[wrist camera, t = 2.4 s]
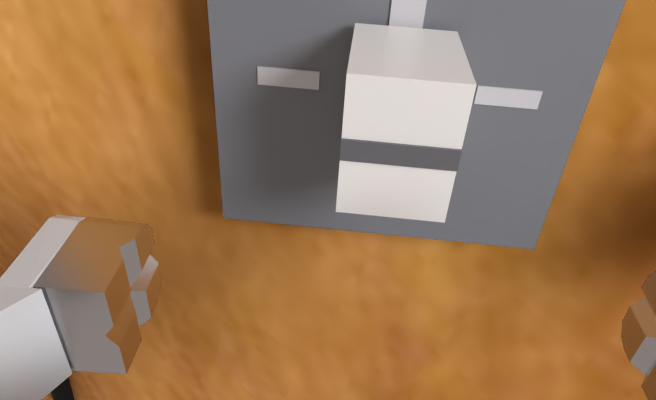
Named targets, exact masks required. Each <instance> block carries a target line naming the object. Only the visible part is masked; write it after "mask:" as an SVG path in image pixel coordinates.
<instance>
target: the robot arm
mask: <svg viewBox="0 0 656 400" xmlns="http://www.w3.org/2000/svg"><path fill="white" fill-rule="evenodd" d="M154 245H155V240H154V235H153V230H152V227H150V226H149V225H148V224H143V223H134V222H125V221H116V220H108V219H99V218H90V217H87V218H84V217H76V216H67V215H58V214H57V215H55V216H53V217H50V218H49V219H48V220H47V221H46V222H45V223H44V224H43V226H42V227H41V228H40V229H39V231H38V232H37V233H36V234H35V235H34V237H33V238H32V239H31V240H30V242H29V243H28V244H27V245H26V247H25V248H24V249H23V250H22V252H21V253H20V254H19V255H18V256H17V258H16V259H15V260H14V261H13V263H12V264H11V265H10V266H9V268H8V269H7V270H6V271H5V273H4V274H3V275H2V276H1V277H0V400H42V399H43V398H44V397H45V396H47V395H48V394H49V393H50V392H51V391H52V390H54V389H55V388H56V387H57V386H58V385H60V384H61V383H62V382H63V381H64V380H66V379H67V378H68V377H69V376H70V375H72V371H85V372H100V373H115V374H127V372H128V370H129V367H130V365H131V363H132V361H133V358H134V356H135V354H136V352H137V349H138V347H139V345H140V343H141V340H142V339H141V334H140V330H139V326H141V325H142V324H143V323H145V322H146V321H148V320H149V319H151V317H152V315H153V312H154V310H155V308H156V305H157V301H158V296H159V292H160V268H159V263H158V262H157V261H156V260H155V259H154V258H153V257H152V256H151V255H150V253H151V251H152V249H153V247H154ZM641 288H642V291H643V293H644V296H645V298H643V299H641V300H639V301H638V302H636V303H634V304H632V305H631V306H630V307H629V309H628V311H627V313H626V314H625V316H624V318H623V320H622V332H621V338H622V343H623V348H624V351H625V353H626V355H627V357H628V359H629V362H630V363H631V364H633V365H634V366H635V367H636V368H637V369H639V370H640V371H641V372H642V373H643V374H645V377H644V380H643V383H642V386H641V387H642V389H643V391H644V393H645V395H646V397H647V399H648V400H656V271H654V272H653V273H651V274H650V275H648V277H647V278H646V280H645V281H644V283H643V285H642V286H641Z"/></svg>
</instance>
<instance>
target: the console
mask: <svg viewBox="0 0 656 400" xmlns="http://www.w3.org/2000/svg"><path fill="white" fill-rule="evenodd" d="M625 2H626V0H207V6H208V19H209V32H210V46H211V59H212V73H213V86H214V100H215V113H216V126H217V140H218V153H219V167H220V180H221V194H222V207H223V218H228V219H238V220H248V221H258V222H268V223H277V224H287V225H297V226H307V227H317V228H327V229H337V230H347V231H356V232H366V233H376V234H386V235H396V236H406V237H416V238H426V239H436V240H445V241H455V242H465V243H475V244H485V245H495V246H505V247H515V248H524V249H534V248H535V246H536V243H537V240H538V237H539V235H540V232H541V229H542V227H543V224H544V221H545V218H546V216H547V213H548V210H549V208H550V205H551V202H552V199H553V197H554V194H555V191H556V189H557V186H558V183H559V180H560V178H561V175H562V172H563V170H564V167H565V164H566V162H567V159H568V156H569V153H570V151H571V148H572V145H573V143H574V140H575V137H576V134H577V132H578V129H579V126H580V124H581V121H582V118H583V115H584V113H585V110H586V107H587V105H588V102H589V99H590V96H591V94H592V91H593V88H594V86H595V83H596V80H597V77H598V75H599V72H600V69H601V67H602V64H603V61H604V58H605V56H606V53H607V50H608V48H609V45H610V42H611V40H612V37H613V34H614V31H615V29H616V26H617V23H618V21H619V18H620V15H621V12H622V10H623V7H624V4H625ZM355 23H362V24H374V25H386V26H398V27H410V28H422V29H434V30H446V31H458V34H459V37H460V40H461V42H462V45H463V48H464V51H465V54H466V56H467V59H468V62H469V65H470V68H471V70H472V73H473V76H474V79H475V82H476V84H477V86H476V90H475V94H474V99H473V103H472V107H471V111H470V116H469V120H468V124H467V129H466V133H465V137H464V142H463V146H462V154H461V158H460V162H459V166H458V171H457V172H456V176H455V181H454V185H453V189H452V194H451V198H450V202H449V206H448V211H447V215H446V219H445V223H443V222H433V221H423V220H413V219H403V218H393V217H383V216H373V215H363V214H352V213H342V212H336V201H337V188H338V175H339V163H340V149H341V138H342V125H343V112H344V100H345V87H346V74H347V68H348V62H349V56H350V50H351V45H352V39H353V33H354V27H355Z"/></svg>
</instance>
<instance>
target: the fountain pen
mask: <svg viewBox="0 0 656 400" xmlns="http://www.w3.org/2000/svg"><path fill="white" fill-rule="evenodd" d="M51 393H52V396H53V399H54V400H74V397H73V393H72V389H71V386H70V382H69V378H67V379H66V380H64V381H63V382H62V383H61V384H60V385H58V386H57V387H56V388H55V389H54V390H52V391H51Z"/></svg>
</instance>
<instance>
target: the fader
mask: <svg viewBox="0 0 656 400" xmlns="http://www.w3.org/2000/svg"><path fill="white" fill-rule="evenodd" d="M476 86H477V84H476V82H475V79H474V76H473V73H472V70H471V68H470V65H469V62H468V59H467V56H466V54H465V51H464V48H463V45H462V42H461V40H460V37H459V34H458V31H446V30H434V29H422V28H410V27H398V26H386V25H374V24H362V23H355V27H354V33H353V39H352V45H351V50H350V56H349V62H348V68H347V74H346V87H345V100H344V112H343V125H342V138H341V149H340V163H339V175H338V188H337V201H336V212H342V213H352V214H363V215H373V216H383V217H393V218H403V219H413V220H423V221H433V222H443V223H445V219H446V215H447V211H448V206H449V202H450V198H451V194H452V189H453V185H454V181H455V176H456V172H457V171H458V166H459V162H460V158H461V154H462V146H463V142H464V137H465V133H466V129H467V124H468V120H469V116H470V111H471V107H472V103H473V99H474V94H475V90H476Z"/></svg>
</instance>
